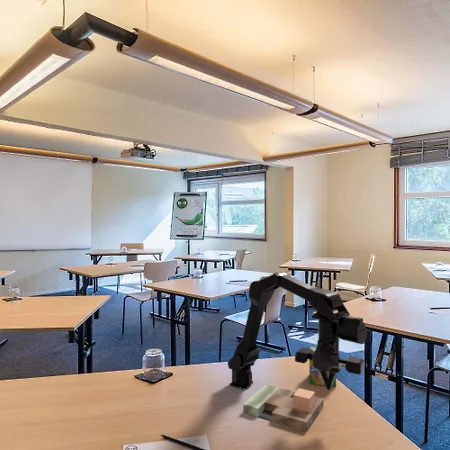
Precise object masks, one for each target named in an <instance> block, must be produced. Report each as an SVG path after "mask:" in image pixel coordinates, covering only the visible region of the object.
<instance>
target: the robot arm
mask: <svg viewBox="0 0 450 450" xmlns="http://www.w3.org/2000/svg"><path fill="white" fill-rule="evenodd" d="M279 288H281V289H284V290H285V291H288V292H289V293H291V294H293V295H295V296H297V297H299V298H301V299H303V300H305V301H307V302H308V303H309V305H310V306H311V307H312V308H313V309H314V310H316V312H315V313H314V314H313V315H312V316H311V319H315V320H318V321H317V322H318V326H317V327H318V332H317V333H318V339H317V342H316V346H317V348H316V350H315V352H314V351H313V349H309V347H308V348H307V347H301V348H300V349H298V350H297V351H296V352H295V353H294V361H295V362H296V363H301V364H306V363H307V362H308V360H313V367H314V368H315V369H318V370H319V371H320V373H321V375H322V377H323V380H324V383H325V385H324V386H325V388H326V390H327V391H330V390H332V387H333V386H332V384H333V381H334V378H335V376H336V377H337V374H338V373H340V372H341V371H342V370H343V368H344V367H345V368H344V369H345V370H346V371H347V373H350V374H354V375H361V374H362V372H363V371H364V369H365V361H364V359H363V357H359V356H357V357H356V356H351V355H350V356H348V357H347V359H345V358H341V356H340V346H339V345H340V340H343V341H347V342H350V343H354V344H358V345H363V344H365V342H366V339H367V336H368V328H367V326H366V323H364V318H362V317H357V316H356V317H354V316H351V314H350V312H349V311H348V309H347V308H346V306H345V305H344V303H343V302H342V301H343V300H342V297H341V295H340V293H338V292H337V291H334V290H333V291H332V290H329V289H325V288H318V287H315V286H312V285H310V284H307V283H306V282H304V281H301V280H299V279H297V278H295V277H293V276H291V275H288V274H287V273H286V272H284V271H279V272H273V274H271V275H269V276H267V277H264V278H263V279H259V280H254V281H252V282H250V284H249V291H248V299H249V301H250V306H249V311H248V315H247V319H246V322H245V327H244V330H243V331H244V332H243V335H242V339H241V340H240V342H239V343H238V345H236V347H235V349H234V352H233V356H232V357H231V358H230V359H229V360H228V361H227V367H228V369H230V370H231V382H230V383H229V386H231V387H236V388H240V389H243V390H246V389H248V387H250V386H251V385H252V384H254V381H253V372H252V367H253V366H254V365H255V363H256V361H257V360H258V359H260V352H261V348H259V347H258V345H257V339H258V336H259V332H260V327H261V325H262V320H263V315H264V312H265V308H266V306H267V304H268V303H269V302H270V300H272V297H273V295H274V292H275V291H276V290H278V289H279ZM336 311H337V312H336Z"/></svg>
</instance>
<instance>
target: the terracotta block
mask: <svg viewBox="0 0 450 450" xmlns="http://www.w3.org/2000/svg"><path fill="white" fill-rule="evenodd" d="M294 392H295V393H294V395H293V408H294V409H298V410H302V411H306V412H309V413H310V412H311V410H312V409H313V407H314V406H315V397H316V392H315V391H312V390H308V389H303V388H298V389H297V390H296V391H294Z"/></svg>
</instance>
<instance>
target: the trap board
mask: <svg viewBox="0 0 450 450" xmlns="http://www.w3.org/2000/svg"><path fill="white" fill-rule="evenodd" d="M295 392H296V391H295V390H294V391H293V390H290V389H286V388H281V387H277V386H273V385H269V384H264V385H263V386H262V387H261V388H260V389H258V390H257V392H255V393H254V394H253V395H252V396H251V397H249V399H247V400H246V401H245V402H244V403H243V406H242V407H243V409H242V410H243V411H242V412H243V413H244V414H248V415H250V416H255V417H256V418H257V417H258V418H261V419H264V420H267V421H271V422H274V423H277V424H280V425H281V424H282V425H284V426H288V427H290V428H294V429H298V430H301V431H303V432H308V431H309V429H310V427H311V426H312V424H313V423H314V422H315V420H316V419H317V417H319V416H318V415H319V414H320V412H321V411H322V409H323V408H324V404H325V403H324V398H322V397H318V396H315V406H314V407H313V409H312V410H311V412H310V413H309V412H306V411H302V410H298V409H294V408H293V395H294V393H295Z"/></svg>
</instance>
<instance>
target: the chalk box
mask: <svg viewBox="0 0 450 450" xmlns="http://www.w3.org/2000/svg"><path fill="white" fill-rule="evenodd" d="M316 348H317V345H309V346H308V349H313V351H314V352H315V350H316ZM308 360H309V359H308ZM308 365H309V368H308V369H309V372H308V373H309V375H308V376H309V384H310V385H314V386H315V385H316V386H317V385H319V386H325V383H324V380H323V377H322V375H321V373H320V371H319V370H318V369H315V368H314V367H313V360H309V364H308ZM331 387H337V375H336V376H335V378H334V381H333V384H332V386H331Z"/></svg>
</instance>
